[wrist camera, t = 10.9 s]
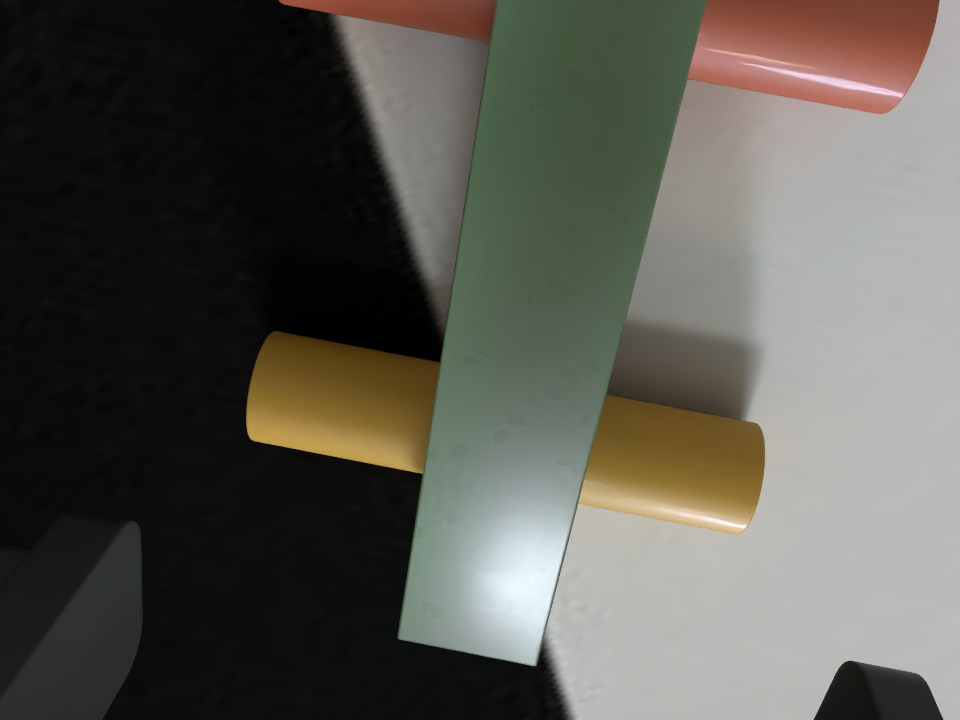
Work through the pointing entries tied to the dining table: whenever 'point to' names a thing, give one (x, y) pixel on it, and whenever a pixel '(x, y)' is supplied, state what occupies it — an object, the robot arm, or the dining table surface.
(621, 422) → the ochre rod
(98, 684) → the robot arm
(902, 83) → the terracotta rod
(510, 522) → the green bar
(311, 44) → the dining table surface
